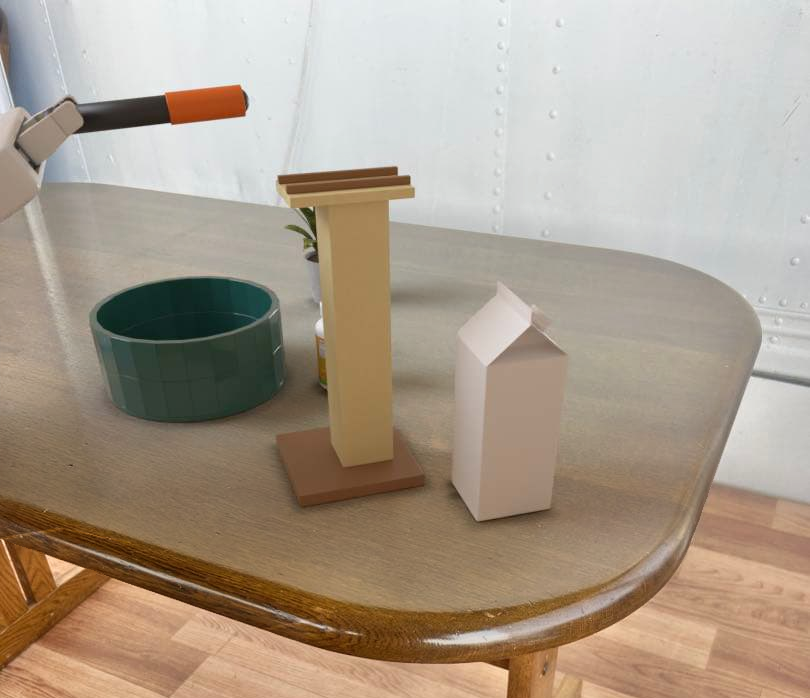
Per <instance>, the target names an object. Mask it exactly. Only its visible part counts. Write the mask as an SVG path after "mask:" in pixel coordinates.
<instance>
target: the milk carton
mask: <svg viewBox="0 0 810 698" xmlns="http://www.w3.org/2000/svg"><path fill="white" fill-rule="evenodd" d="M553 322H554V321H553V320H552V318H551V317H549V315H547V314H545V312H543V311H542V310H541V309H540V308H538V306H536V305H535V304H531V306H529V305H528V304H527V303H525V302H524V301H523V300H522V299H521V298H520V297H519V296H517V295H516V294H515V293H514V292H513V291H512V290H510V288H509V287H507V286H506V285H505V284H504V283H503V282H501V281H497V282H496V293H495V295H494V296H492V298H491V299H489V300H488V301H487V302H486V303H485V304H484V306H482V307H481V308H480V309H479V310H478V311H477V312H476V313H475V314H474V315H473V316H472V317H471V318H470V319H469V320H467V322H466V323H464V325H462V327H460V328H459V330H457V332H456V341H455V342H456V343H455V344H456V345H455V370H454V372H455V373H454V374H455V375H454V399H453V400H454V403H453V428H452V429H453V431H452V456H451V457H452V458H451V459H452V461H451V463H452V464H451V484H452V485H453V487H454V488H455V489H456V491H457V493H458V494H459V496H460V497H461V499H462V501H463V502H464V503H465V505H466V507H467V508H468V511H469V512H470V513H471V515H472V517H473V518H474V519H475V521H476V522H482V521H489V520H494V519H500V518H501V519H502V518H507V517H511V516H518V515H523V514H528V513H533V512H539V511H545V510H550V509H551V504H552V495H553V489H554V479H555V471H556V464H557V456H558V447H559V440H560V439H559V438H560V429H561V423H562V415H563V407H564V406H563V405H564V400H565V399H564V398H565V392H566V391H565V389H566V382H567V374H568V364H569V354H568V353H567V352H566V351H565V350H564V349H563V348H561V347H560V346H559V345H558V344H557V343H556V342H555V341H554V340H553V339H551V338H550V337H549V336H548V335H547V334H546V333H545V332H546V331H547V330H548V328H549V327H550V326H551V325H552V323H553Z"/></svg>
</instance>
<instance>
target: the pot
mask: <svg viewBox="0 0 810 698" xmlns="http://www.w3.org/2000/svg"><path fill="white" fill-rule="evenodd" d="M280 304H281V303H280V300H279V297H278V296H277V294H276V292H275V291H274V290H272V289H271V288H269V287H268V286H266V285H264V284H262V283H259V282H256V281H253V280H249V279H243V278H238V277H232V276H219V275H194V276H193V275H189V276H179V277H169V278H162V279H157V280H153V281H147V282H143V283H139V284H136V285H132V286H129V287H126V288H125V287H124V288H122V289H121V290H119V291H116V292H114V293H112V294H109V295H108V296H106V297H104V298H103V299H101V300H100V301H98V302H96V304H95V305H94V306H93V308H92V309H91V310H90V312H89V313H88V324H89V328H90V332H91V335H92V339H93V343H94V348H95V351H96V356H97V358H98V363H99V368H100V371H101V376H102V380H103V384H104V387H105V391H106V394H107V397H108V399H109V401H110V403H111V404H112V405H113V406H114V407H115V408H116V409H118V410H120V411H121V412H123V413H125V414H127V415H129V416H132V417H135V418H139V419H144V420H147V421H155V422H163V423H190V422H191V423H192V422H194V423H195V422H204V421H210V420H216V419H221V418H225V417H230V416H234V415H237V414H239V413H243V412H245V411H249V410H250V409H253V408H256V407H257V406H259V405H261V404H264V403H265V402H267V401H269V400H270V399H271V398H273V397H274V396H275V395H277V393H278V392H280V390H281V389H282V388H283V386H284V384H285V382H286V379H287V364H286V355H285V344H284V335H283V334H284V333H283V324H282V323H283V322H282V314H281V305H280Z"/></svg>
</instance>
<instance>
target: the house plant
mask: <svg viewBox="0 0 810 698" xmlns="http://www.w3.org/2000/svg"><path fill="white" fill-rule="evenodd" d="M298 209H299V211H300V212H301V213H302V215H303V216H304V217H305V218H304V217H303V216H302V215H301V214H300V212H299V211H298V210H297V208H294V209H293V211H295V212H296V213H297V214H298V215H299V217H301V219H302V220H303V221H304V222H305V223H306V225H307V226H308V227H309V229H310V231H311V233H312V235H313V236H314V238H315V239H314V238H313V237H312V235H311V234H310V233H308V232H307V230H305V229H304V228H302V227H300V226H298V225H296V224H286V225H285V226H283V229H284V230H285V229H286V230H289V231H292V232H296V233H298V234H300V235H303V236H304V237H303V239H302V240H303V250H302V253H304V252H305V251H306V250H307V249H310V248H311V247H313V250H311V251H308V252H306V253H304V255H303V261H304V265H305V266H304V267H305V269H306V273H307V278H308V281H309V282H308V283H309V286H310V289H311V293H312V299H313V301H314V303H315V304H317V305H319V306H320V302H321V286H320V271H319V257H318V242H317V228H316V213H315V207H312V208H311V207H305V208H298Z"/></svg>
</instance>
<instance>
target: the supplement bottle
mask: <svg viewBox="0 0 810 698" xmlns="http://www.w3.org/2000/svg"><path fill="white" fill-rule="evenodd" d="M319 313H320V314H319V315H320V317H321V318H319V320H317V321H316V323H315V326H314V333H315V345H316V347H315V348H316V360H317V371H318V372H317V374H318V380H319V381H318V382H319V385H320V386H321V387H322V388H323V389H325V391H328V388H327V373H326V359H325V344H324V330H323V315H322V301H321V302H320V305H319Z"/></svg>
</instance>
